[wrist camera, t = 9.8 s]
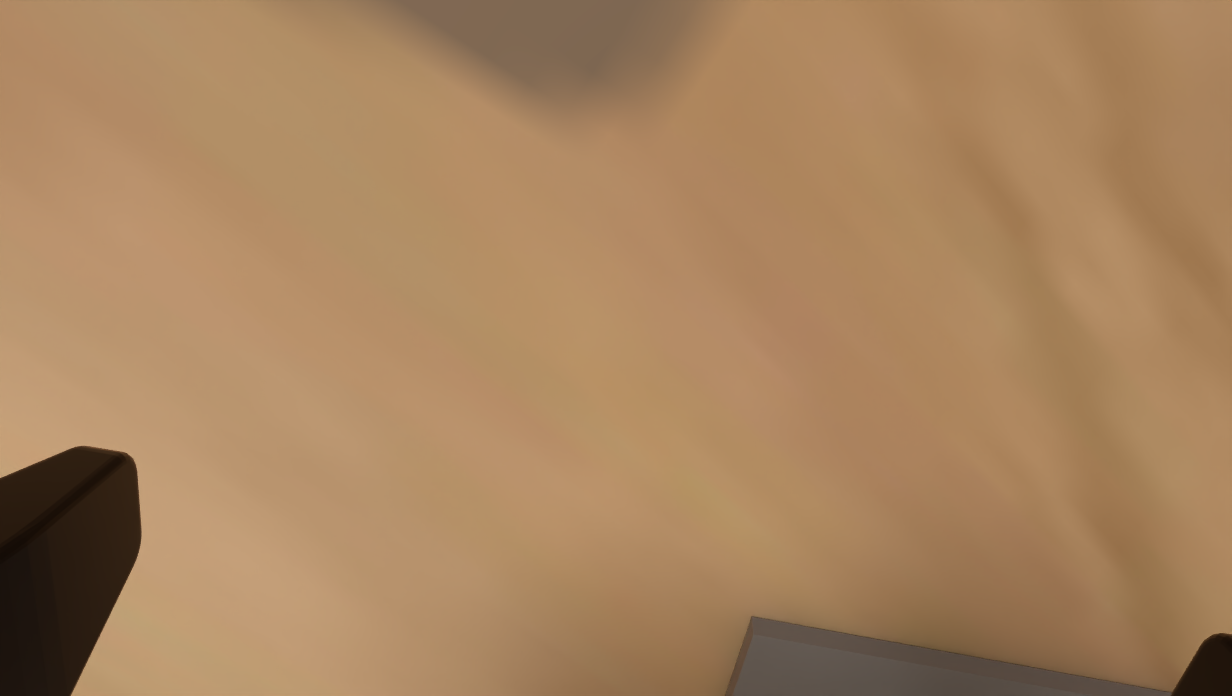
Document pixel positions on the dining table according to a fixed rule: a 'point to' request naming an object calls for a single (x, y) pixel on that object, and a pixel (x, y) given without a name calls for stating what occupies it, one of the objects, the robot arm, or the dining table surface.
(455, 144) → the dining table surface
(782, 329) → the dining table surface
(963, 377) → the dining table surface
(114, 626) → the dining table surface
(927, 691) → the tray on grey plate
